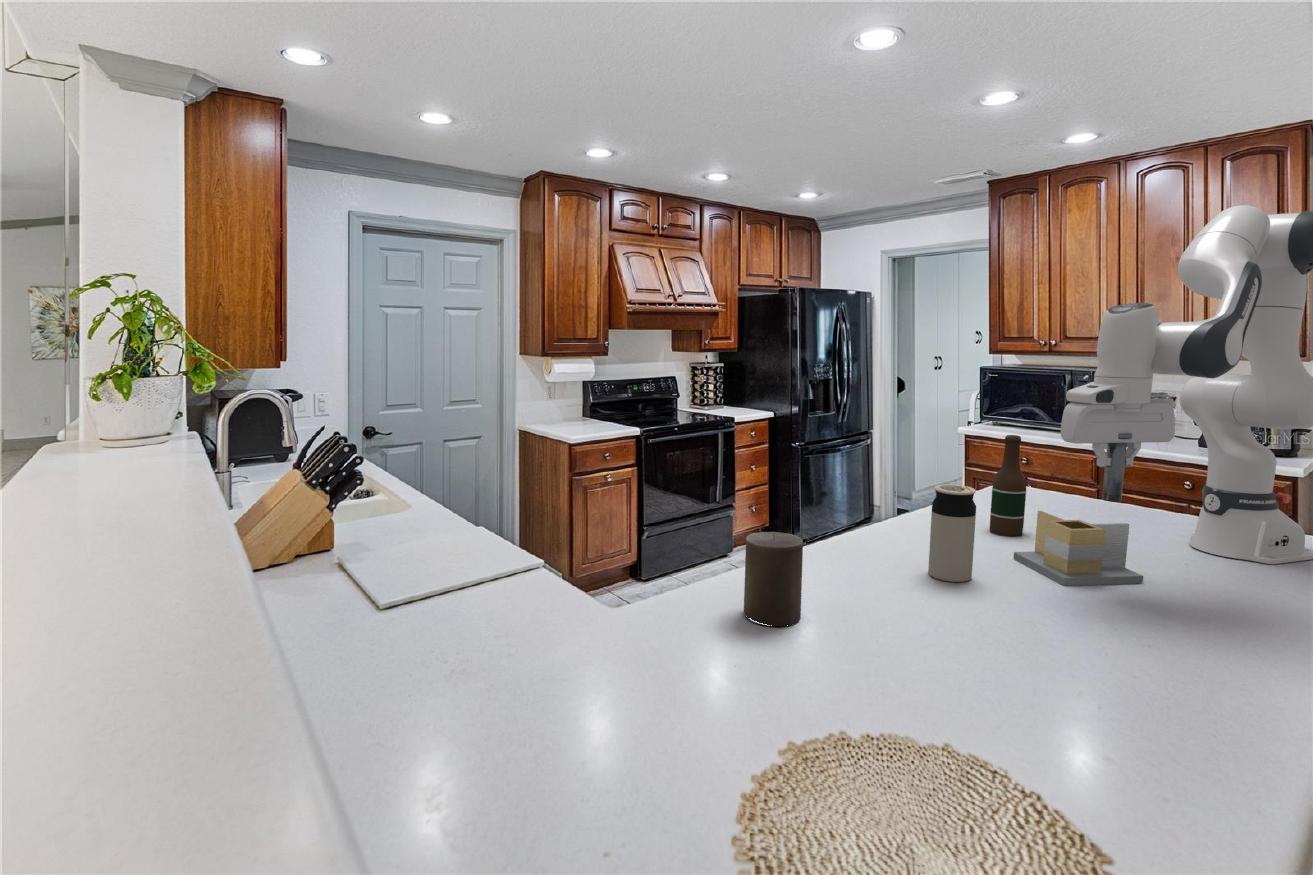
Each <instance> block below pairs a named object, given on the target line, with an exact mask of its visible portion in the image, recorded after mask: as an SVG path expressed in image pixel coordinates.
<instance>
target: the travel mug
mask: <svg viewBox="0 0 1313 875" xmlns="http://www.w3.org/2000/svg"><path fill="white" fill-rule="evenodd" d="M933 489H934V491H935V498H934V499H933V501H932V502H931V520H930V534H929V536H930V537H929V538H930V539H929V554H928V569H927V570H928V571H927V572H928V574H929V575H930V576H931V577H933V578H935V579H936V580H940V581H943V582H944V581H945V582H949V583H963V582H967V581H970V580H971V579H972V577H973V576H972V575H973V564H974V563H973V562H974V546H975V532H976V530H975V529H976V518H977V516H976V515H977V505H976V503H975V501H974V497H975V496H974V495H975V494H976V492H977V490H976V489H975V488H973V487H971V486H968V485H961V484H960V485H959V484H948V483H947V484H939V485H938V484H937V485H935V486H934V488H933Z"/></svg>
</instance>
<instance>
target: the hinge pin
mask: <svg viewBox="0 0 1313 875" xmlns="http://www.w3.org/2000/svg"><path fill="white" fill-rule="evenodd" d="M1118 439H1132V433H1118ZM1127 448H1128V447H1127V443H1108V446H1107V449H1106V452H1105V453H1106V455H1107V457H1109V458H1111V462H1110V463H1111V466H1110V467H1104V475H1103V483H1102V484H1103V485H1102V486H1103V487H1102V495H1101V500H1102V501H1104V502H1110V503H1121V502H1122V498H1123V497H1122V496H1123V487H1124V476H1125V468H1126V467H1125V459H1126V450H1127Z"/></svg>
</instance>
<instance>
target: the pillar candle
mask: <svg viewBox="0 0 1313 875" xmlns="http://www.w3.org/2000/svg"><path fill="white" fill-rule="evenodd" d="M803 549H804V541H803V539H802V538H801V537H799V536H798V535H795V534H791V533H784V532H776V531H762V532H753V533H752V532H751V533H750V534H749V535H747V536H746V537H745V557H744V558H745V562H744V563H745V564H744V593H743V594H744V595H743V597H744V598H743V614H745V615H746V616H747V617H748V618H751V619H752V620H754V621H757V622H759V623H763V624H767V625H772V626H771V627H773V626H780V627H779V628H782V627H781V626H787V625H790V626H793V625H792V624H794V625H796V624H797V623H799V622H800V621H799V620H801V618H802V617H801V615H802V586H803V584H802V581H803V556H804V555H803V551H804V550H803ZM745 615H744V616H745ZM798 621H799V622H798ZM795 623H796V624H795ZM787 627H788V626H787Z"/></svg>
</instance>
